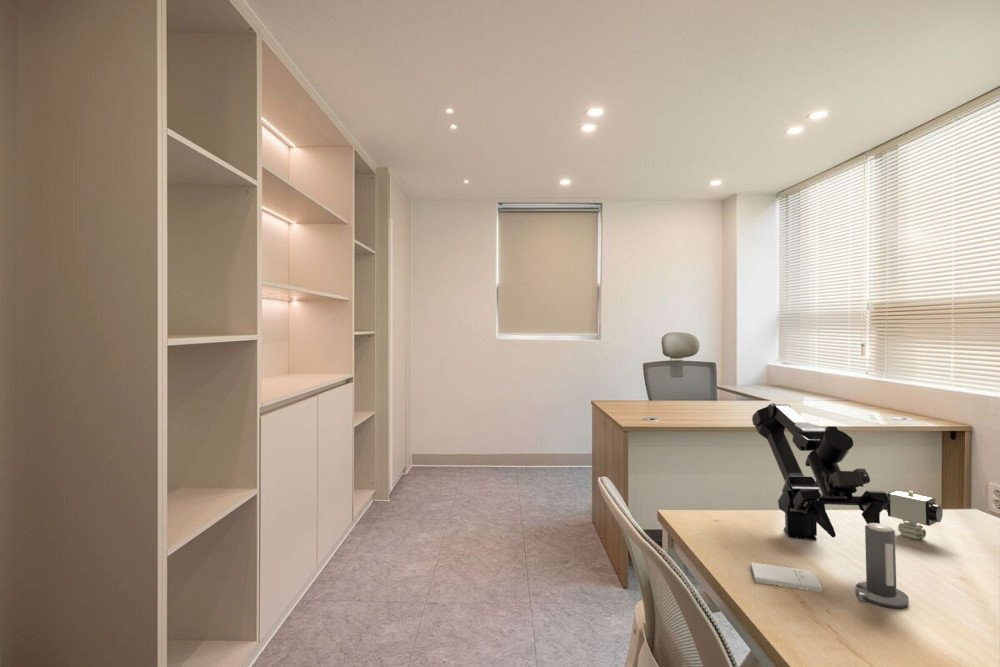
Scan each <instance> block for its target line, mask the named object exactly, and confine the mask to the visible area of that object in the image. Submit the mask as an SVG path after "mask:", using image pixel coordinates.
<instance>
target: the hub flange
mask: <svg viewBox="0 0 1000 667" xmlns="http://www.w3.org/2000/svg"><path fill="white" fill-rule="evenodd" d="M855 592H856V595H857V598H858V600H859V601H861V602H868V603H870V604H873V605H876V606H879V607H882V608H887V609H895V610H896V609H897V610H899V609H907V608H908V607H909V605H910V603H909V599H910V598H909V596H908V595H907V594H906V592H904V591H902V590H900V589H898V588H896V593H897V596H896V597H883V596H879V595H876V594H873V593H871V592H869V591H868V590H867V586H866V581H860V582H858V583H856V585H855Z"/></svg>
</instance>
